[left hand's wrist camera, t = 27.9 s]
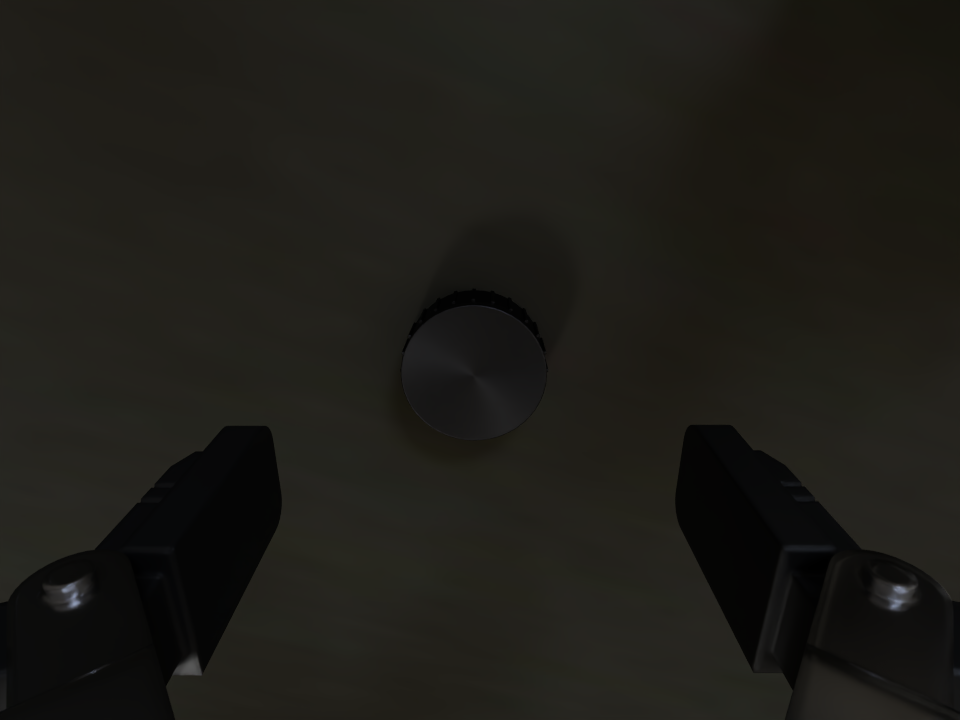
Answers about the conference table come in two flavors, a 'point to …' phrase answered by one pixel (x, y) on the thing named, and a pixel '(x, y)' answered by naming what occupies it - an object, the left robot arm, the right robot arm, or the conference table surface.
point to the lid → (474, 365)
